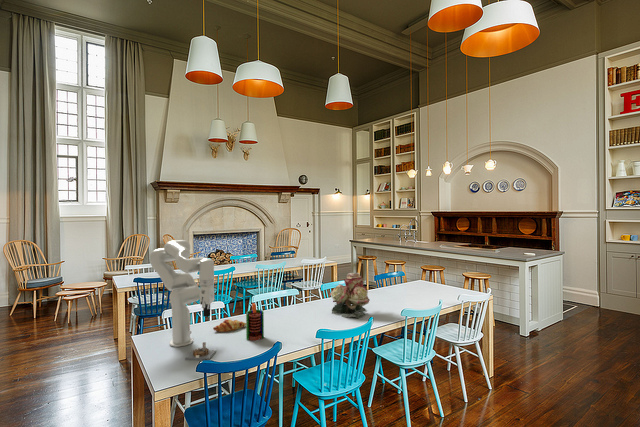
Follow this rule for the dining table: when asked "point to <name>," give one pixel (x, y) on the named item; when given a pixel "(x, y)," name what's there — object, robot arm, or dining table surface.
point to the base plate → (208, 356)
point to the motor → (254, 324)
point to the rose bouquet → (350, 297)
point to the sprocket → (201, 351)
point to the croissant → (229, 325)
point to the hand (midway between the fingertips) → (206, 316)
